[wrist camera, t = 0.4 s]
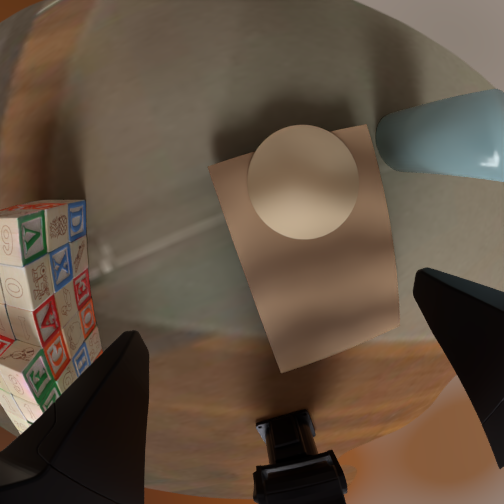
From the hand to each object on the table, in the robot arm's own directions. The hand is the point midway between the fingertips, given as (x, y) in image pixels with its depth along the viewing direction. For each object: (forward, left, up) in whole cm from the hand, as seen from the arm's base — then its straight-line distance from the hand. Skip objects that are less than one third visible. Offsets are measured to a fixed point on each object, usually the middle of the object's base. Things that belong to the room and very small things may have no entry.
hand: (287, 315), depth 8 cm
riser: (-4, -5, -15) cm, 16 cm away
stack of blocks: (-2, +19, -15) cm, 25 cm away
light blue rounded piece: (+3, -16, -15) cm, 22 cm away
